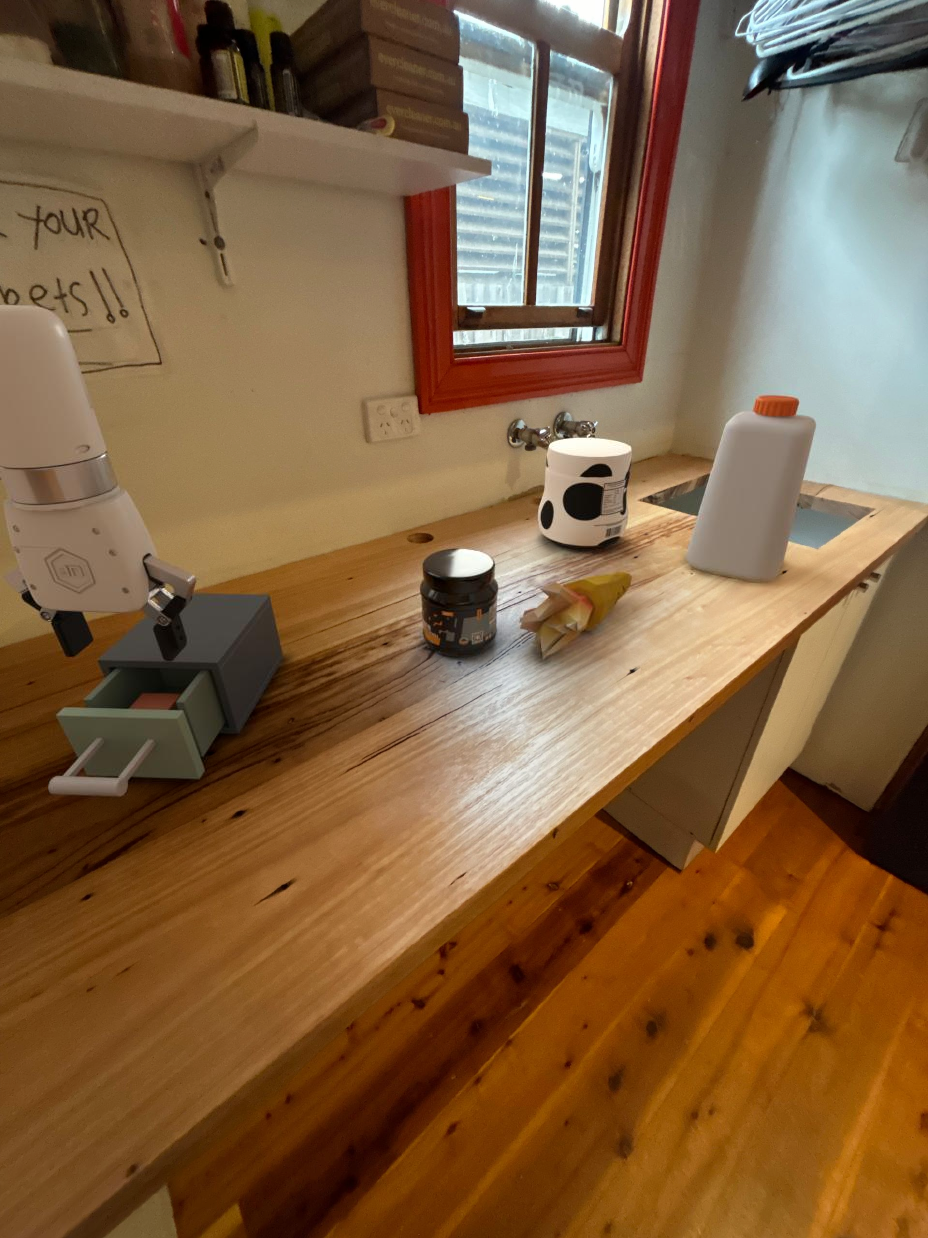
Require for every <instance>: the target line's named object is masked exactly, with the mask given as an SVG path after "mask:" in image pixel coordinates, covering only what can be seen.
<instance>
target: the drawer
mask: <svg viewBox="0 0 928 1238" xmlns="http://www.w3.org/2000/svg"><path fill="white" fill-rule="evenodd" d="M142 693H163V694H181V696H180V698H179V699H178V700H177V701H176V704H177V706H178V709H179V710H148V709H129V708H130V707H131V705H132V704H133V703H134V702H135V701H136V700H137V699H138V698H139V697H140V695H141V694H142ZM83 702H84V704H85V705H86V707H75V706H74V707H71V706H70V707H69V706H68V707H67V706H64V707H62V708H61V710H59V712H58V713H57V714H56V715H55V717H56V719H57V721H58V722H59V724H60V726H61V728H62V730H63V732H64V734H65V736H66V739H68V741H69V743H70V745H71V747H72V750H73V751H74V753H75V755H76V757H77V759H76V760H75V761H74V763H73V764H72V765H71V766H70V767H69V768H68V769H67V770H66V772H65V773H64V774H63V775H55V776H54V777H52V778H51V779H50V780H49V783H48V792H49V794H51V795H64V796H67V795H68V796H92V797H94V796H95V797H122V796H124V795H125V794H126V793H127V790H128V787H129V780H130V778H155V779H156V778H157V779H187V780H200V779H201V777H202V776H203V774H204V773H205V769H206V768H205V767H204V764H203V761H202V758H204V756H205V755H206V753H207V752H208V751H209V749H210V748H211V745H213V743H214V742H215V739H216V738H217V736H218V735H219V734H220V733H219V731H220V730H221V728H222V727H223V725H224V724H225V722H226V720H227V718H226V715H225V712H224V709H223V706H222V702H221V699H220V696H219V693H218V689H217V686H216V683H215V680H214V677H213V673H212V669H171V668H128V667H116V668H115V669H114V670H113V671H112V672H111V673H110V674H109V675H108V676H107V677H106V678H105V677H104V679H103V680H102V681H101V682H100V683H99V684H98V685H97V686H96V687H95V688H94V689H93V690H92V691H91V692H90V693H88V694H87V695H86V697H84V698H83ZM82 769H83V770H84V772H85V774H86V775H87V776H77V775H78V774H79V773H80V771H81V770H82Z"/></svg>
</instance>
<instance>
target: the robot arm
mask: <svg viewBox="0 0 928 1238" xmlns="http://www.w3.org/2000/svg"><path fill="white" fill-rule="evenodd" d="M0 481H2V483H3V485H4V487H5V490H6V492H7V494H8V498H6V499H5V500H4V501H3V510H4V518H5V522H6V527H7V528H6V529H7V532H8V536H9V540H10V543H11V546H12V550H13V552H14V555H15V558H16V561H17V564H18V566H16V567H13V568H12V569H11V570H10V571H8V572H5V574H3V579H4V580H5V581H6V583H8V585H10V586H11V587H12V589H13V590H15V591H16V592H17V593H18V594H21V600H22V601H23V602H24V603H26V604H27V605H29V607H31V608H34V609H35V610H36V611H37V612H38V615H39V618H41V620H43V621H45V622H47V623H50V625H51V627H52V630H53V631H54V634H55V636H56V638H57V640H58V642H59V645H60V647H61V649H62V651H63V653H64V655H65V657H66V658H75V657H76V656H77V655H79V654H80V653H81V652H82V651H84V650H85V649H86V648H88V646H90V645H91V644H92V643H93V642H94V637H93V635H92V632H91V629H90V627H89V624H88V622H87V619H86V618H85V615H84V613H103V614H104V613H109V614H131V613H136V612H138V611H140V610H141V611H142V612H143V613H144V614H146V615H148V616H149V617H151V618H152V619H153V620H154V621H156V622H157V624H156V625H155V626H154V627H153V631H154V634H155V637H156V640H157V642H158V645H159V648H160V651H161V654H162V657H163V659H164V660H165V661H173V660H174V659H175V658H176V656H177V655H178V654H179V653H180V652H181V651H182V650H183V649H184V648H185V646H186V644H187V637H186V634H185V631H184V627H183V624H182V621H181V618H180V615H179V614H180V613H181V612H182V611H183V609H184V608H185V607H186V606H187V604H188V603H189V602H190V601H191V600H192V594H193V593H194V591H195V587H196V585H197V577H196V575H194V574H193V573H190V572H188V571H186V570H183V569H182V568H179V567H177V566H175V565H172V564H170V563H168V562H166V561H164V560H162V559H160V558H159V556H158V555H159V554H158V552H157V549H156V547H155V545H154V542H153V540H152V537H151V534H150V532H149V530H148V527H147V526H146V524H145V522H144V520H143V518H142V516H141V513H140V512H139V510H138V508H137V505H135V502H134V501H133V499H132V498H131V495H130V494H129V492H128V491H127V490H126V489H123V488H120V485H119V482H118V478H117V476H116V473H115V470H114V466H113V464H112V461H111V457H110V455H109V452H108V449H107V446H106V442H105V440H104V436H103V434H102V430H101V427H100V425H99V421H98V418H97V416H96V413H95V409H94V406H93V403H92V400H91V397H90V394H89V392H88V388H87V386H86V382H85V379H84V376H83V373H82V370H81V366H80V364H79V361H78V358H77V355H76V351H75V349H74V346H73V342H72V340H71V337H70V334H69V332H68V330H67V328H66V326H65V324H64V322H63V321H62V319H61V318H60V317H59V316H58V315H57V314H56V313H55V312H53V311H51V310H49V309H47V308H45V307H41V306H36V305H25V304H23V305H22V304H0ZM166 584H167V585H169V586H171V587H172V589H173V592H172V593H173V594H174V596H173V595H171V592H169V591H168V590H167V589H166ZM152 599H155V600H156V601H157V602H158V603H159V604H160V603H161V604H162V605H163V606H165V608H164V609H162V608H161V607H159V606H158V604H157V603H156V602H154V601H153V600H152Z"/></svg>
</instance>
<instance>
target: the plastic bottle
mask: <svg viewBox="0 0 928 1238" xmlns="http://www.w3.org/2000/svg"><path fill="white" fill-rule="evenodd" d="M799 406H800V401H799V399H798V398H797V397H794V396H790V395H789V396H788V395H775V394H765V395H759V396H758V397H757V398H755V401H754V405H753V410H745V411H740V412H737V413H736V414H735V415H734V416H732V417H731V418H730V419H729V420H728V421H727V422H726V423H725V425H724V428H723V432H722V436H721V438H720V442H719V444H718V448H717V451H716V454H715V458H714V460H713V465H712V468H711V471H710V473H709V474H710V475H709V477H708V480H707V484H706V487H705V489H704V494H703V497H702V500H701V504H700V507H699V510H698V514H697V517H696V520H695V524H694V527H693V529H692V533H691V537H690V540H689V543H688V546H687V550H686V553H685V560H686V561H687V563H688V564H689V566H691V567H692V568H694V569H696V570H698V571H701V572H704V573H710V574H714V575H717V576H718V575H719V576H724V577H728V578H732V579H736V580H739V581H740V580H741V581H745V582H750V583H766V582H767V583H768V582H770V581H772V580H774V579H776V578H777V577H778V575H779V574H780V571H781V568H782V567H783V566H782V565H783V563H784V561H785V557H786V553H787V549H788V545H789V539H790V537H791V532H792V528H793V524H794V520H795V515H796V512H797V509H798V508H797V507H798V503H799V498H800V494H801V490H802V487H803V481H804V478H805V474H806V470H807V466H808V461H809V457H810V453H811V448H812V444H813V440H814V435H815V432H816V428H817V423H816V421H815V419H814V418H813V417H811V416H809V415H804V414H797V413H798V409H799Z"/></svg>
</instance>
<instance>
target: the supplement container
mask: <svg viewBox="0 0 928 1238" xmlns="http://www.w3.org/2000/svg"><path fill="white" fill-rule="evenodd" d="M421 565H422V567H421V568H422V577H423V578H422V580H421V582H420V585H419V594H420V598H421V599H420V600H421V614H422V615H421V617H422V637H423V640H424V642H425V644H426V645H427V646H428V647H429V648H430V649H431V650H433V651H434V652H436V653H439V654H442V655H445V656H447V657H448V656H449V657H455V658H456V657H457V658H458V657H460V658H461V657H471V656H474V655H477V654H480V653H482V652H485V651H487V650H488V649H489V648H490V647H492V645H493V644H494V643H495V641H496V639H497V634H498V628H497V627H498V626H497V623H498V622H497V620H498V594H499V584H498V581H497V579H496V578H495V576H496V561H495V560H494V559H493V557H492V556H491V555H489V554H488V553H486V552H483V551H481V550H478V549H472V548H459V547H458V548H457V547H455V548H448V549H442V550H438V551H435V552H433V553H431V554H429V555H428V556H426V558H425V559H424V560H423V561H422V564H421Z"/></svg>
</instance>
